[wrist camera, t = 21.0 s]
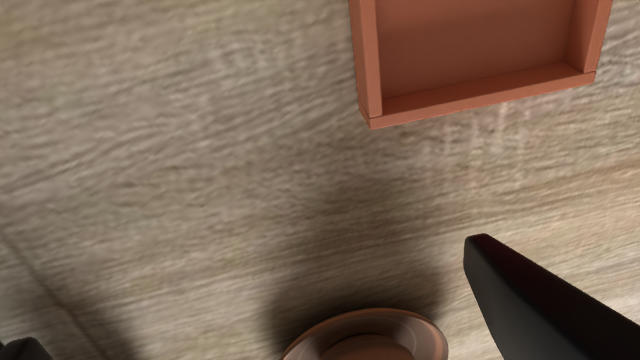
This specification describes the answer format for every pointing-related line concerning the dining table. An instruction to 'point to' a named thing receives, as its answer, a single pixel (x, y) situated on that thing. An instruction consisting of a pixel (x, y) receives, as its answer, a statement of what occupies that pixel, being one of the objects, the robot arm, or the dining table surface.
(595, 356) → the robot arm
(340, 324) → the cup and saucer
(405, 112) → the terracotta tray
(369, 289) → the dining table surface
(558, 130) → the dining table surface
